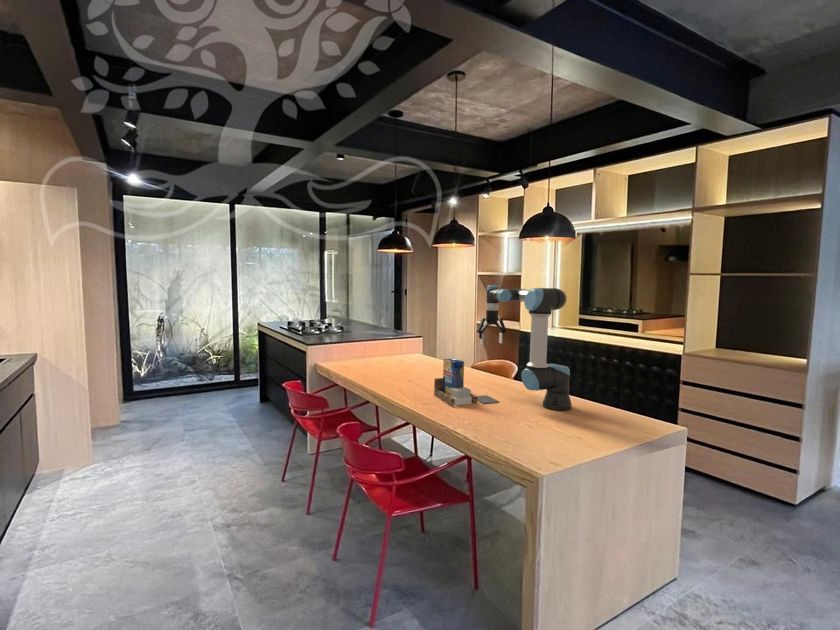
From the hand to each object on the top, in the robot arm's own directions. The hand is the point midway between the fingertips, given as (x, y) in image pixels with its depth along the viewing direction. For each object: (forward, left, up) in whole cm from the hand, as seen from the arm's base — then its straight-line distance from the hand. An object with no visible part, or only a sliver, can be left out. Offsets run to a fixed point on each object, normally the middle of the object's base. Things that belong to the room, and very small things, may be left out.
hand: (491, 343), depth 287 cm
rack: (-19, +33, -28) cm, 47 cm away
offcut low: (-26, +33, -28) cm, 51 cm away
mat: (-25, +17, -28) cm, 41 cm away
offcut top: (-26, +33, -24) cm, 49 cm away
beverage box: (-15, +33, -28) cm, 46 cm away
